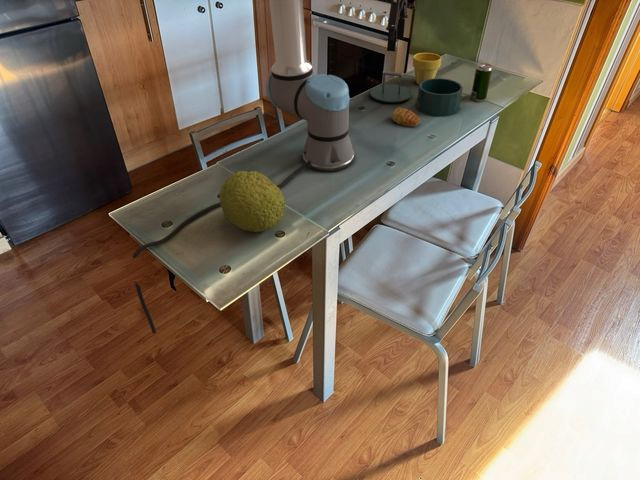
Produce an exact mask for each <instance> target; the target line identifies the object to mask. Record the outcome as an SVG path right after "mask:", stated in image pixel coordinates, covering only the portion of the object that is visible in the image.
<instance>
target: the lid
mask: <svg viewBox="0 0 640 480" xmlns="http://www.w3.org/2000/svg"><path fill="white" fill-rule="evenodd" d="M386 76H392V77H399V78H398V84H386ZM402 77H403V72H398V71H386V70H382V84H381V85H377V86H374V87H373V88H371V89H370V92H369V95H370V97H371V99H373V100H375V101H377V102H379V103H387V104H398V103H404V102H406V101H408V100H410V99H411V98H412V96H413V91H412V90H411V89H410V88H409V87H407V86H403V85H402V80H403V79H402Z"/></svg>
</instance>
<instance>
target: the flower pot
mask: <svg viewBox="0 0 640 480" xmlns="http://www.w3.org/2000/svg"><path fill="white" fill-rule="evenodd" d="M441 64H442V56H441V55H439V54H436V53H433V52H419V53H415V54H414V55H413V57H412V67H413V68H414V79H415V83H416V84H417V85H418V86H419V85H420V83H421V82H422V81H424V80H427V79H433V78H436V75H437V73H438V69H440V67H441Z"/></svg>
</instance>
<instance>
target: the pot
mask: <svg viewBox="0 0 640 480" xmlns="http://www.w3.org/2000/svg"><path fill="white" fill-rule="evenodd" d="M463 88H464V87H463V85H462V84H461V83H459V82H458V81H457V80H453V79H449V78H442V77H437V78H436V77H435V78H433V79H427V80H424V81H422V82H421V83H420V85H419V84H418V91H417V100H416V108H417V110H418V111H419V112H421V113H423V114H425V115H428V116H434V117H446V116H451V115H454V114H456V113H458V111H459V110H460V106H461V101H462V94H463V90H464V89H463Z"/></svg>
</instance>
